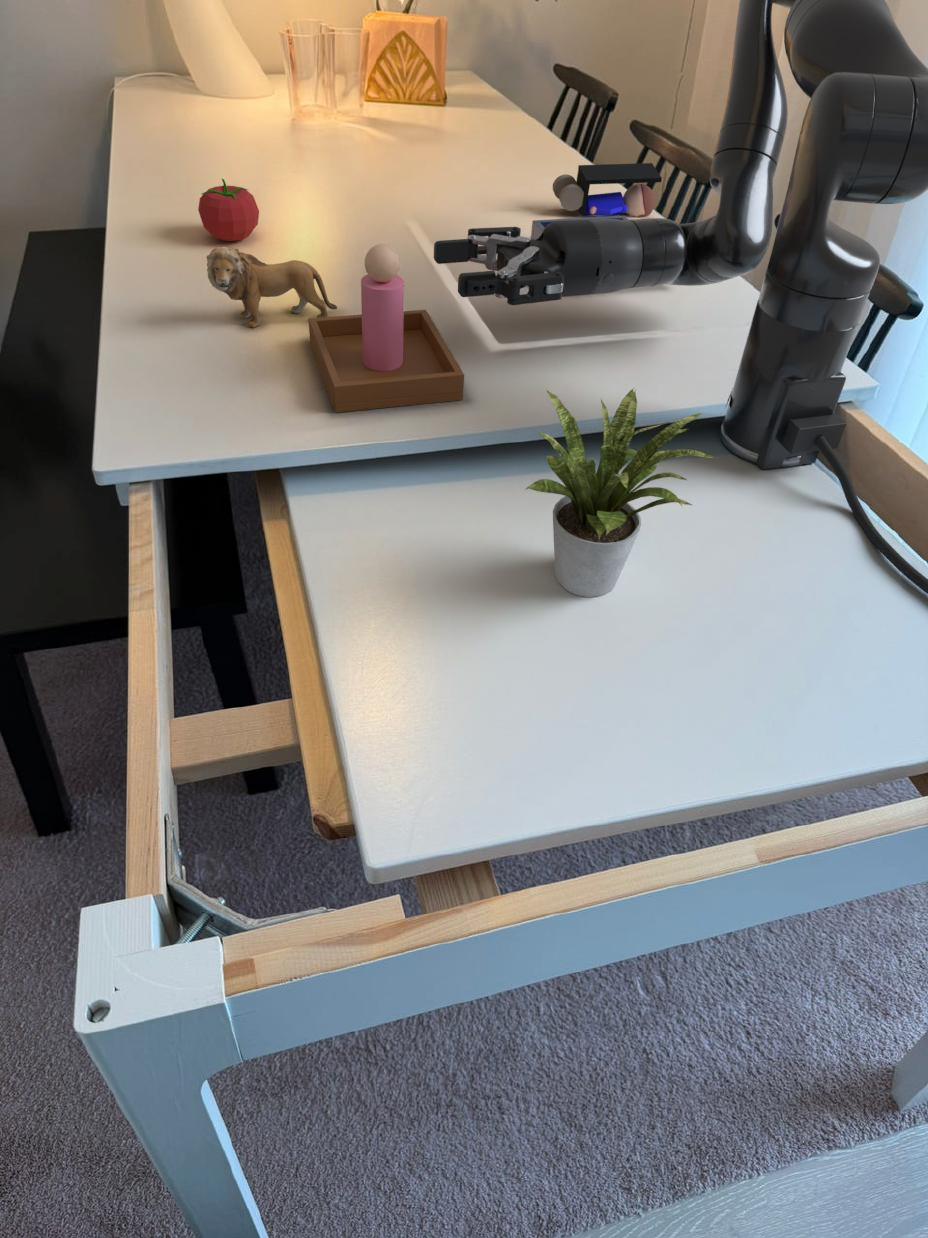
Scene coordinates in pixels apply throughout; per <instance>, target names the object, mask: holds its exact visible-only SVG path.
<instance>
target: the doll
mask: <svg viewBox="0 0 928 1238" xmlns="http://www.w3.org/2000/svg"><path fill="white" fill-rule="evenodd" d="M364 269H365V271H366V273H367V274H365V275H364V276H362V277H361V279H360V296H361V299H360V300H361V301H360V302H361V303H360V305H361V314H362V353H363V364H364V365H365V366H366V367H367V368H369V369H372V370H376V371H392V370H395V369H398V368H399V367H401V366H402V364H403V328H404V311H405V280H404V278H403V277H401V276H400V275H398V274H399V272H400V269H401V259H400V256H399V254H398V252H397V250H396V249H395V248H393V247H392V246H390V245H389V244H386V243H385V244H383V243H379V244H376V245H374V246H372V247H371V248H370V249H368V251H367V252H366V254H365V257H364Z"/></svg>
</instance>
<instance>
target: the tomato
mask: <svg viewBox="0 0 928 1238" xmlns="http://www.w3.org/2000/svg"><path fill="white" fill-rule="evenodd" d="M221 181H222V183H223V184H222V185H219V186H214V187H210V188H208V189H207V190H206V191H204V192H202V193H201V196H200V197H199V202H198V203H199V204H198V207H197V208H198V209H197V210H198V214H199V217H200V220H201V223H202V227H203V228H204V229H205V230H206V231H207V232H208V233H209V234H210V235H211V236H212V237H214V238H216V239H217V240H221V241H229V242H230V241H232V242H235V241H241V240H244V239H246V238H248V237H249V236H251V234H252V233H253V232H254V230H255V229H256V228H257V226H258V225H259V218H260V210H259V207H258V203H257V202H256V199H255V197H254V195H253V194H252V193H251V192H250V191H249V189H248V188H245V187H242V186H236V185H227V184H226V181H225V179H224V178H222V179H221Z"/></svg>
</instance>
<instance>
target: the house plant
mask: <svg viewBox="0 0 928 1238" xmlns="http://www.w3.org/2000/svg"><path fill="white" fill-rule="evenodd" d="M636 390H637V389H634V388H632V389H631V390H629V391H628V392H627V393H626V394H625V396H624V397H623V398H622V400H621V401H620V403H619V405H618V407H617V408H616V410H615V412H614V415H613V417H612V420H611V421H610V418H609V413H608V409H607V407H606V404H605V403H604V401H603V400H602V398H600V403H601V409H602V410H601V411H602V419H603V420H602V421H603V441H602V444H601V446H600V452H599V453H600V454H599V455H600V456H599V463H598V466H597V464H596V461H595V459H594V458H593V457H591V458H588V460H587V456H586V450H585V445H584V442H583V437H582V435H581V432H580V429H579V426H578V422H577V421H576V418H575V417H574V416H573V414H572V413H571V412H570V411H569V410H568V409H567V408H566V407H565V405H564V404H563V402H562V401H561V400H560V398H559V397H558V396H557V395H555V393H552V392H550V391H549V390H548V389H546V392H547V395H548V397H549V398H550V400H551V403H552V405H553V407H554V409H555V411H556V413H557V414H556V415H557V416H558V419H559V422H560V425H561V428H562V430H563V433H564V437H565V442H566V446H567V449H565V448H564V447H563V446H562V445H561V444H560V443H559V442H558V441H557V440H556V439H555V438H554V437H552V436H551V435H550V434H547V433H546V432H542V431H540V430H537V432H538V433H539V434H540V435H541V436H542V437H543V438H544V439H545V440H546V441H548V442H549V443H550V445H551V446H552V447H553V449H554V451H555V452H556V453H557V454H558V455H559V456H555V455H546V464H547V465H548V466H549V468H550V469H551V471H552V472H553V473H554V474H555V475H556V477H557V478H558V479H559V480H560V481H561V482H562V483H560V482H558V481H555V480H553V479H549V478H542V479H538V480H536V481H534V482H532V483H531V484H530V485H528V486H527V487H526V488H525V489H524V491H526V490H528V489H530V490H532V491H534V492H535V491H536V492H540V493H547V494H555V495H560V496H563V497H560V499H559V500H558V501H557V502H556V503H555V505H554V507H553V509H552V527H553V528H552V529H553V553H554V555H553V556H554V557H553V559H554V577H555V579H556V581H557V582H558V583H559V585H560V586H561V587H562V588H563V589H564V590H566V591H567V592H568V593H571V594H573V595H575V596H579V597H584V598H595V597H600V596H604V595H607V594H608V593H610V592H612V590H613V589H614V588H615V587H616V586H617V585H616V584H617V583H618V580H619V578H620V576H621V573H622V571H623V569H624V567H625V565H626V562H627V561H628V558H629V555H630V554H631V551H632V549H633V547H634V545H635V542H636V540H637V538H638V536H639V533H640V531H641V528H642V525H643V524H642V519H641V515H640V514H639V513H640V512H644V511H645V510H648V509H650V508H654V507H656V506H660V505H665V504H670V503H678V504H679V505H680V506H681V507H683V505H687V506H693V503H690V502H688V501H686V500H684V499H681V498H678V496H677V495H676V494H675V493H674V492H672V491H671V490H669V489H667V488H664V487H659V486H658V487H649V486H648V487H645V488H641V487H643V486H644V485H646V484H648V483H651V482H652V481H656V480H659V479H664V478H674V479H678V480H682V481H688V482H689V480H688V479H687V478H685V477H683V476H682V475H680V474H677V473H674V472H669V471H668V472H667V471H666V472H664V471H663V472H660V473H656V474H653V473H654V472H655V471H656V469H657V468H658V467H660V466H659V463H661V462H663V461H667V460H670V459H674V458H680V457H684V456H685V457H686V456H695V457H700V458H701V457H702V458H708V459H709V458H711V459H716V457H715V456H713V455H712V454H708V453H705V452H703V451H700V450H697V449H696V450H695V449H690V448H677V449H666V450H660V449H661V448H662V447H664V446H665V445H666V444H668V443H669V442H670V441H671V440H672V439H674V438H675V437H676V436H677V435H680V434H681V433H685V432H686V431H687V430H688V428H683V427H684V426H686V425H687V424H688V423H690V422H692V421H695V420H696V419H697V418H699V417H700V416H701V415H702V414H703V412H700V413H695V414H691V415H688V416H685V417H683V418H681V419H679V420H676V421H674V422H672V423H671V424H669V425H668V426H666V427H665V428H664V429H662V430H661V431H659V432H658V433H657V434H656V435H654V436H653V437H652V438H651V439H649V440H648V441H647V442H646V443H645V444H643V446H642V447H640V449H639V450H638V451H636V450H634V449H633V448H629V447H630V444H631V441H632V438H633V436H634V435H638V434H639V433H642V432H645V431H647V430H648V431H649V430H651V429H654V428H658V427H661V426H664V425H666V424H668V423H669V421H667V422H664V423H660V424H656V425H651V426H646V427H643V428H640V429H637V430H635V427H636V419H637V410H638V409H637V408H638V400H637V395H636ZM560 457H561V458H560ZM628 462H629V463H628ZM627 463H628V464H627ZM626 464H627V465H626ZM625 465H626V466H625ZM596 466H597V470H596ZM624 466H625V467H624ZM622 469H623V470H622ZM621 470H622V471H621ZM620 471H621V472H620ZM652 474H653V475H652ZM650 475H651V476H650ZM647 477H648V478H647ZM639 483H640V484H639ZM646 497H654V498H659V499H656V500H654V501H652V502H651V501H650V502H649V503H646V504H644V505H642V506H641V507H639V508H637V509H636V508H635V507H634V506H633V505H632V504H631V503H629V502H632V501H635V500H637V499H640V498H646Z"/></svg>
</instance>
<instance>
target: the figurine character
mask: <svg viewBox="0 0 928 1238" xmlns="http://www.w3.org/2000/svg"><path fill="white" fill-rule="evenodd" d="M662 179H663V177H662V176H661V174H660V173H659V171H658V170H657V169H656V167H655V165H654V164H653V162H652V163H651V162H644V163H643V162H641V163H640V162H639V163H608V164H605V163H603V164H578V166H577V175H576V179H575V177H574V176H572V175H570V174H561V175H559V176H557V177H556V178H555V179H554V181H553V182H552V191H553V194H554V196H555V197H556V198H557V200H559V203H560V205H561V207H562V208H563V209H564V210H566V211H569V212H572V211H573V212H574V211H577V210H578V211H579V213H580V215H582V216H587V215H588V216H613V215H621V214H623V213H624V214H625V215H627V216H630V217H634V218H646V217H648V216H650V215H651V214H652V212H653V210H654V209H655V207H656V196H655V193H654V191H653V190H652V189H651V187H649V186H648V185H646V184H648V183H649V184H650V183H662ZM614 184H616V185H618V184H619V185H620V184H633V185H631V186H629V187H628V188H627V189H626V190H625V192H624V194H623V193H622V192H621V191H615V192H604V193H595V194H589V193H590V186H591V185H614Z"/></svg>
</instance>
